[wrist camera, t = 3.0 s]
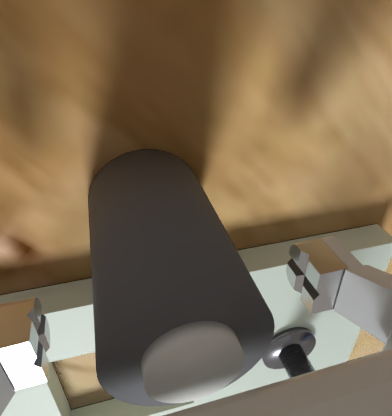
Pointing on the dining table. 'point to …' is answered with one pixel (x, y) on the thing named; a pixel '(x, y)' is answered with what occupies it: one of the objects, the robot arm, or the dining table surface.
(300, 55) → the dining table surface
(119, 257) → the grey cylinder with ball
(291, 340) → the grey angled rod part
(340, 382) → the robot arm
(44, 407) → the pale green board
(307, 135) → the dining table surface
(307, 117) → the dining table surface
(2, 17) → the dining table surface
